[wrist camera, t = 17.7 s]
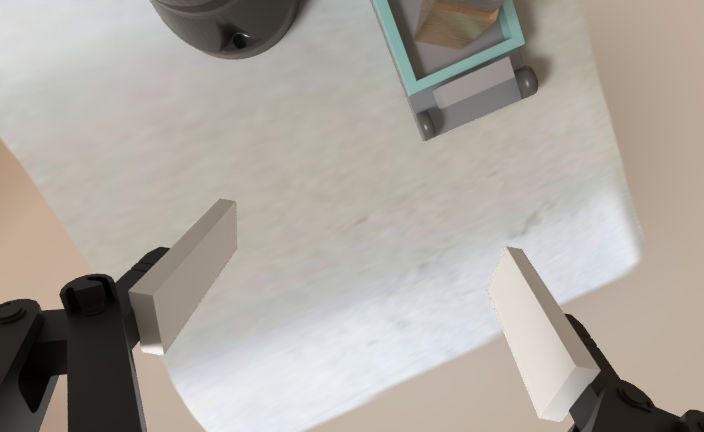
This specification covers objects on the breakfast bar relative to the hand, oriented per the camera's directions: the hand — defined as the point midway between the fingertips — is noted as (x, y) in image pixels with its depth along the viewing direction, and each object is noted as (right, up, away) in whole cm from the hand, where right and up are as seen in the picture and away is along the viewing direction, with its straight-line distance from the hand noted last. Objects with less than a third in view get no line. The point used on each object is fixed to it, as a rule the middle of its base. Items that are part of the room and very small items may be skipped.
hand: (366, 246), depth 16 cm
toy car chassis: (+9, +21, +19) cm, 30 cm away
